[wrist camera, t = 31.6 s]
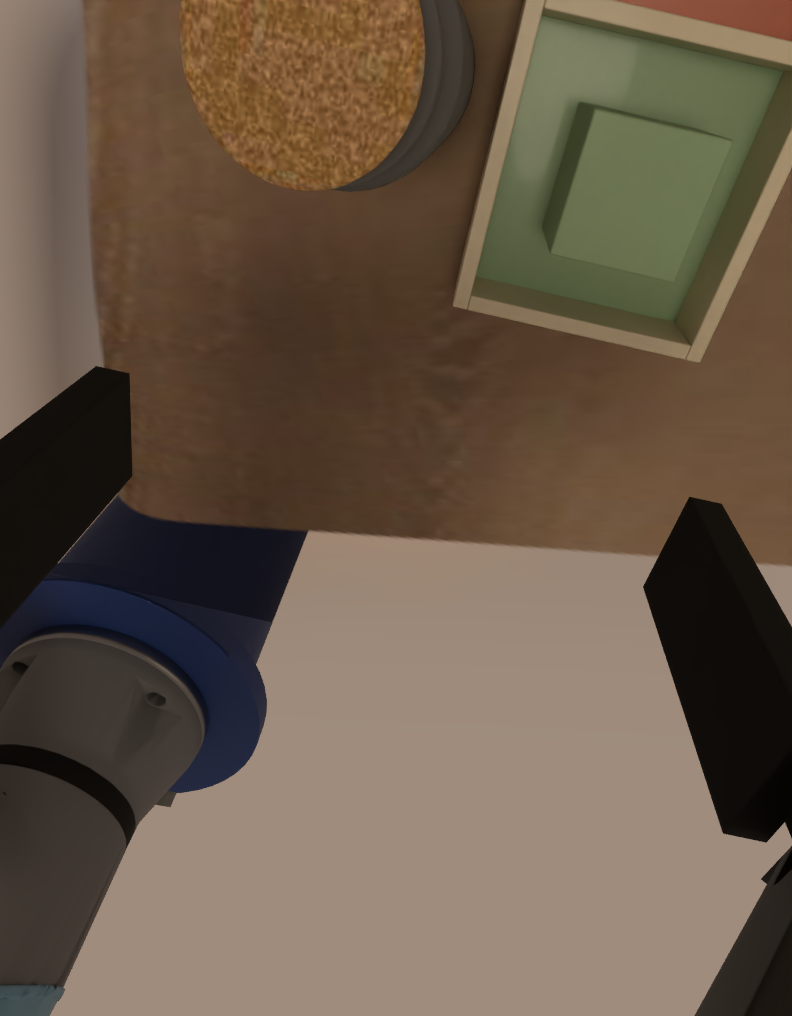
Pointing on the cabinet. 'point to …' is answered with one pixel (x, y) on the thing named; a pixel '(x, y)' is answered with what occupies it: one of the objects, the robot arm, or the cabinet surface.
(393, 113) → the bottle
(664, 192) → the sage block
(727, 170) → the sorting tray
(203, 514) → the cabinet surface
